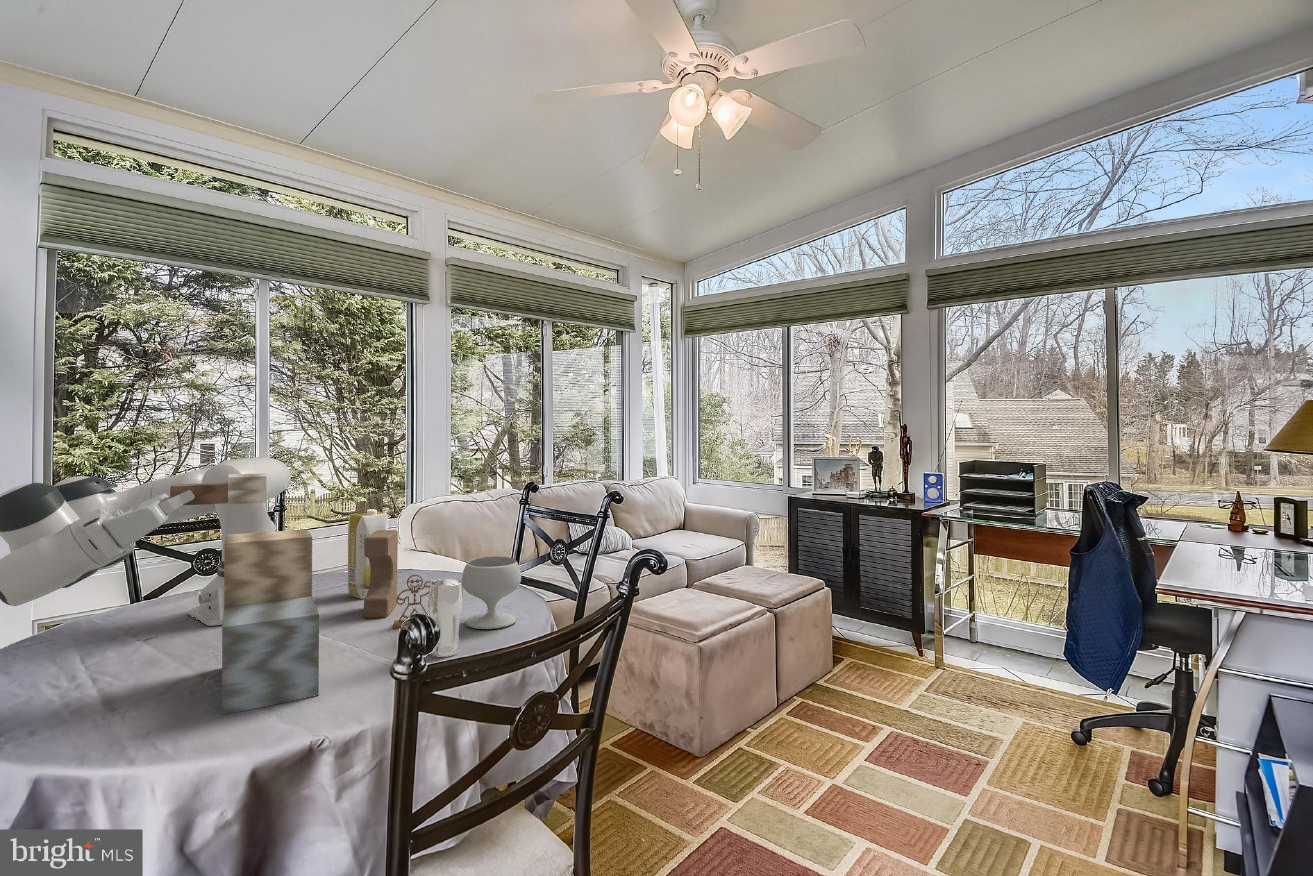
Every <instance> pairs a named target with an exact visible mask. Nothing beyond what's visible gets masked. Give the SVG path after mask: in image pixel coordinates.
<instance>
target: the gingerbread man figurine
mask: <svg viewBox="0 0 1313 876" xmlns="http://www.w3.org/2000/svg"><path fill="white" fill-rule="evenodd" d="M413 577H418V578H420V580H419V579H416V580H414V579H411V578H413ZM410 579H411V580H410ZM420 582H421V583H420ZM430 582H431V581H430V580H427V581H425V582H424V580H423V577H422V576H421V575H419V574H411V575H410V576H409V577H408V578H407V580H406V586H407V588H408V589H407V588H406V589H403V590H402V591H401V592H399V593H398V594H397V600H396V601H397V605H399V606H402V605H404V604H405V603H406V599H407V606H406V607H405V609H404V611H403V612H402V615H401V616H400V617H399V619H394V620H393V628H395V629H394V630H399V628H401V625H402V623H403V622H404V621H405V620H406V619H408V617H410V616H411V617H412V615H413V614H414V612H415V613H416V614H417V613H418V614H419V612H418V611H417V609H416V607H414V608H413V610H412V611H411V613H410V614H409V616H407V615H406V612H407V610H408V608H409V607H410V606H421V608H422V610H423V611H424V613H426V614H427V615H429V613H428V612H427V611H426V609H425V608H424V606H423V605H422V597H425V596H427V595H429V590H428V591H427V592H426V593H423V594H420V595H419V602H416V601H417V599H416V596H417V594H419V591H420V590H421V591H422V590H424V589H425V588H427V589H429V588H430V585H428V583H429V584H430ZM414 583H416V584H417V585H412V584H414ZM423 583H424V584H423ZM404 592H410V594H412V595H413V596H412V597H413V600H412V601H413V602H410V596H409V595H407V596H405V597H404V598H402V597H400V596H401V595H402V594H403V593H404ZM399 601H401V602H399ZM426 614H425V615H426ZM427 615H426V616H427ZM411 617H410V618H411ZM402 618H403V619H402ZM401 629H402V628H401Z"/></svg>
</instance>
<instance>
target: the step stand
mask: <svg viewBox="0 0 1313 876" xmlns="http://www.w3.org/2000/svg"><path fill="white" fill-rule="evenodd" d="M312 595H313V536H312V534H311V532H310V531H309V529H291V530H281V531H280V530H278V531H275V532H260V533H246V534H231V535H225V543H224V614H223V624H222V625H221V627H222V629H221V633H222V635H221V647H222V648H221V650H222V651H221V652H222V653H221V654H222V655H221V715H222V716H223V715H228V714H234V713H238V712H244V711H249V710H254V709H258V708H264V707H268V706H273V705H278V703H279V704H283V703H287V702H286V701H289V702H293V701H292V700H294V701H296V700H295V699H299V700H303V699H302V698H304V699H306V698H305V697H309V698H312V697H311V696H314V695H319V693H320V692H319V688H320V687H319V683H320V682H319V679H320V678H319V675H320V674H319V672H320V671H319V669H320V667H319V665H320V661H319V660H320V613H319V611H318V608H317V605H316V603H315V601H314V598H313V596H312ZM314 697H315V696H314Z"/></svg>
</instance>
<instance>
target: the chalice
mask: <svg viewBox="0 0 1313 876" xmlns="http://www.w3.org/2000/svg"><path fill="white" fill-rule="evenodd" d="M461 576H462V577H461V580H462V587H463V589H464V591H465V592H467V594H470V595H471V596H474V597H476V598H477V599H480V600H481V601H482V602H483V603H485V605H486V607H487V610H486V612H485V613H481V614H480V613H479V614H476V615H473V616H470V617H469V618H467V620H465V625H466V626H467V627H469V628H471V629H478V630H494V629H501V628H506V627H509V626H512V625H514V624H515V623H516V622H517V620H518V619H517V617H515V615H513V614H510V613H504V612H496V606H497V604H498V603H499V602H500V600H502V599H503V598H505V597H507V596H509V595H510V594H512V593H513V592H515V591H516V590H517V589H518V588H519V587H520V585H521V581H522V573H521V569H520V565H519V563H518V561H517V560H516V558H513V557H509V556H508V557H507V556H483V557H475V558H472V559H470V560H468V561H467V563H466V564H465V566H464V568H463V572H462V575H461Z"/></svg>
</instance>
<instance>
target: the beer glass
mask: <svg viewBox="0 0 1313 876" xmlns="http://www.w3.org/2000/svg"><path fill="white" fill-rule="evenodd" d="M429 586H430V588H428V589H429V590H428V591H429V593H428V600H427V601H428V603H427V604H428V607H427V609H428V615H429V617H431V618H433V619H435V620H436V622H438V624H439V626H440V628H441V630H442V635H441V636H440V642H439V643H438V645H437V647H436V649H435V651H433V653H431V654H430V653H429V654H430V656H431V655H432V656H431V657H433V658H436V657H435V656H441V657H444V655H446V654H453V653H458V652H459V651H460V652H461V646H460V645H461V644H460V639H459V637H460V636H459V635H460V633H459V631H460V626H461V625H460V624H461V621H462V614H463V610H464V609H463V608H464V590H463V589H464V588H463V585H462V579H459V578H454V577H453V578H452V577H450V578H438V579H434V580H432V581H431V582H430V583H429ZM460 652H459V653H460ZM459 653H458V654H459ZM444 658H445V657H444Z"/></svg>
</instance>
